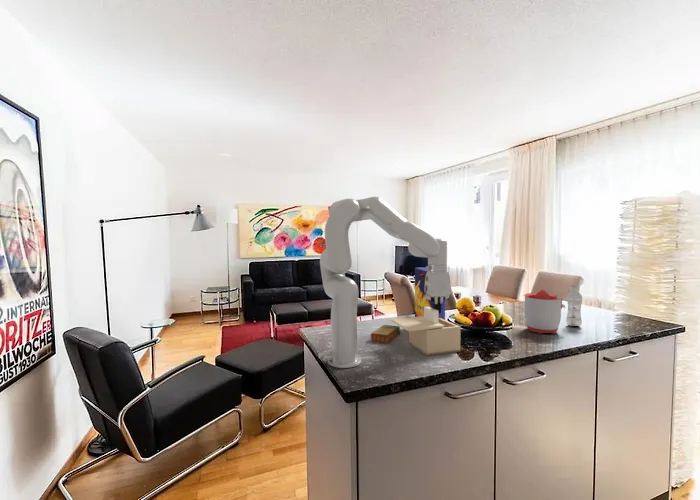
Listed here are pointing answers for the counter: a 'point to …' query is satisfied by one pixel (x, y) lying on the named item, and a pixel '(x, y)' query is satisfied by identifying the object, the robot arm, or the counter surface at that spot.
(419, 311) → the cereal box
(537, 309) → the citrus juicer
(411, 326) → the box lid
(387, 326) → the carton
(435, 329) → the cardboard box
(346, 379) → the counter surface
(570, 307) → the plastic bottle
